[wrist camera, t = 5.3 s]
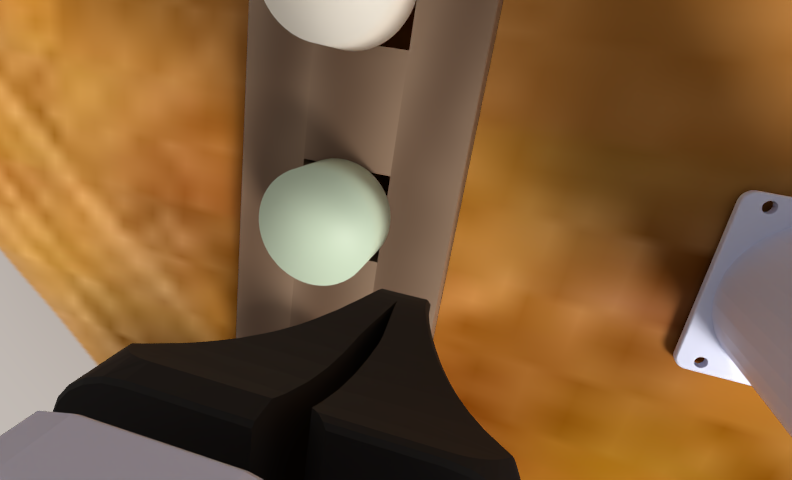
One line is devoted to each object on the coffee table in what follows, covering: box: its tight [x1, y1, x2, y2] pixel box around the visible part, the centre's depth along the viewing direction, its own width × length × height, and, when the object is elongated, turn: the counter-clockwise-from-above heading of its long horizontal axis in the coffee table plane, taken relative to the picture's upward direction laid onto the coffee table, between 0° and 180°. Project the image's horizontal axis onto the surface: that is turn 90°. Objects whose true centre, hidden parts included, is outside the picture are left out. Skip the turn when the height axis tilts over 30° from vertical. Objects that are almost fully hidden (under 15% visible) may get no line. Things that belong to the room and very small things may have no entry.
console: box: [236, 0, 503, 338], centre depth 21 cm, size 10×30×2 cm, turn 171°
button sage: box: [259, 158, 391, 286], centre depth 20 cm, size 5×5×4 cm
